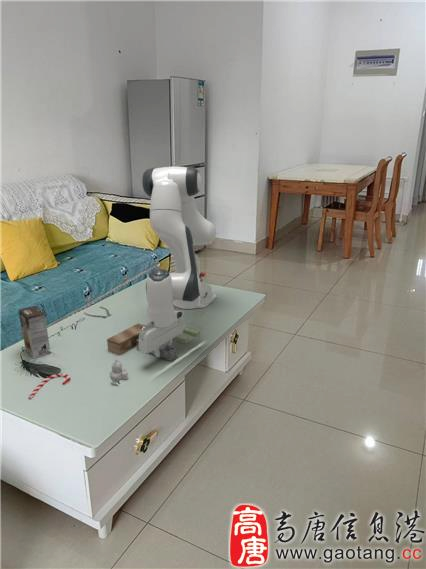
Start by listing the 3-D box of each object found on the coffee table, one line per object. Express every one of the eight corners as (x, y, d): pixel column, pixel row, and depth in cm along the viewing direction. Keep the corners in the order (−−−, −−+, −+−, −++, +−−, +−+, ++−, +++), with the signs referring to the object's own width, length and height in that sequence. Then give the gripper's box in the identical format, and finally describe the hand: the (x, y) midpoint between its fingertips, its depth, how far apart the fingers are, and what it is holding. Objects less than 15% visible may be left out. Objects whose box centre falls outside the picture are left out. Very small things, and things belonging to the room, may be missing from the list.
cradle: (167, 328, 177) (167, 321, 176) (199, 338, 168) (199, 331, 167) (153, 336, 170) (153, 329, 169) (185, 347, 162) (185, 340, 161)
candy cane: (20, 394, 132) (56, 370, 145) (21, 398, 133) (56, 373, 146) (40, 400, 129) (74, 375, 142) (40, 404, 130) (75, 379, 143)
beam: (139, 337, 169) (138, 323, 167) (150, 341, 166) (149, 327, 164) (108, 354, 157) (106, 339, 155) (120, 358, 154) (118, 343, 152)
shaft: (142, 344, 160) (142, 336, 159) (176, 357, 151) (176, 348, 150) (136, 348, 157) (136, 340, 156) (170, 360, 149) (170, 352, 148)
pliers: (97, 305, 198) (131, 314, 189) (97, 307, 199) (132, 315, 189) (81, 313, 190) (116, 322, 181) (82, 314, 191) (117, 324, 181)
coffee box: (24, 349, 160) (17, 309, 155) (42, 344, 164) (36, 304, 159) (33, 359, 154) (26, 317, 148) (51, 353, 158) (45, 312, 152)
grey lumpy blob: (116, 374, 144) (114, 353, 142) (133, 378, 142) (131, 357, 139) (106, 382, 140) (103, 360, 137) (123, 387, 137) (121, 365, 134)
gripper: (147, 331, 138) (149, 369, 143) (186, 309, 154) (187, 344, 158) (132, 326, 141) (135, 363, 146) (172, 305, 157) (174, 339, 162)
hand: (163, 353), depth 152 cm, fingers closed on shaft, 3 cm apart
